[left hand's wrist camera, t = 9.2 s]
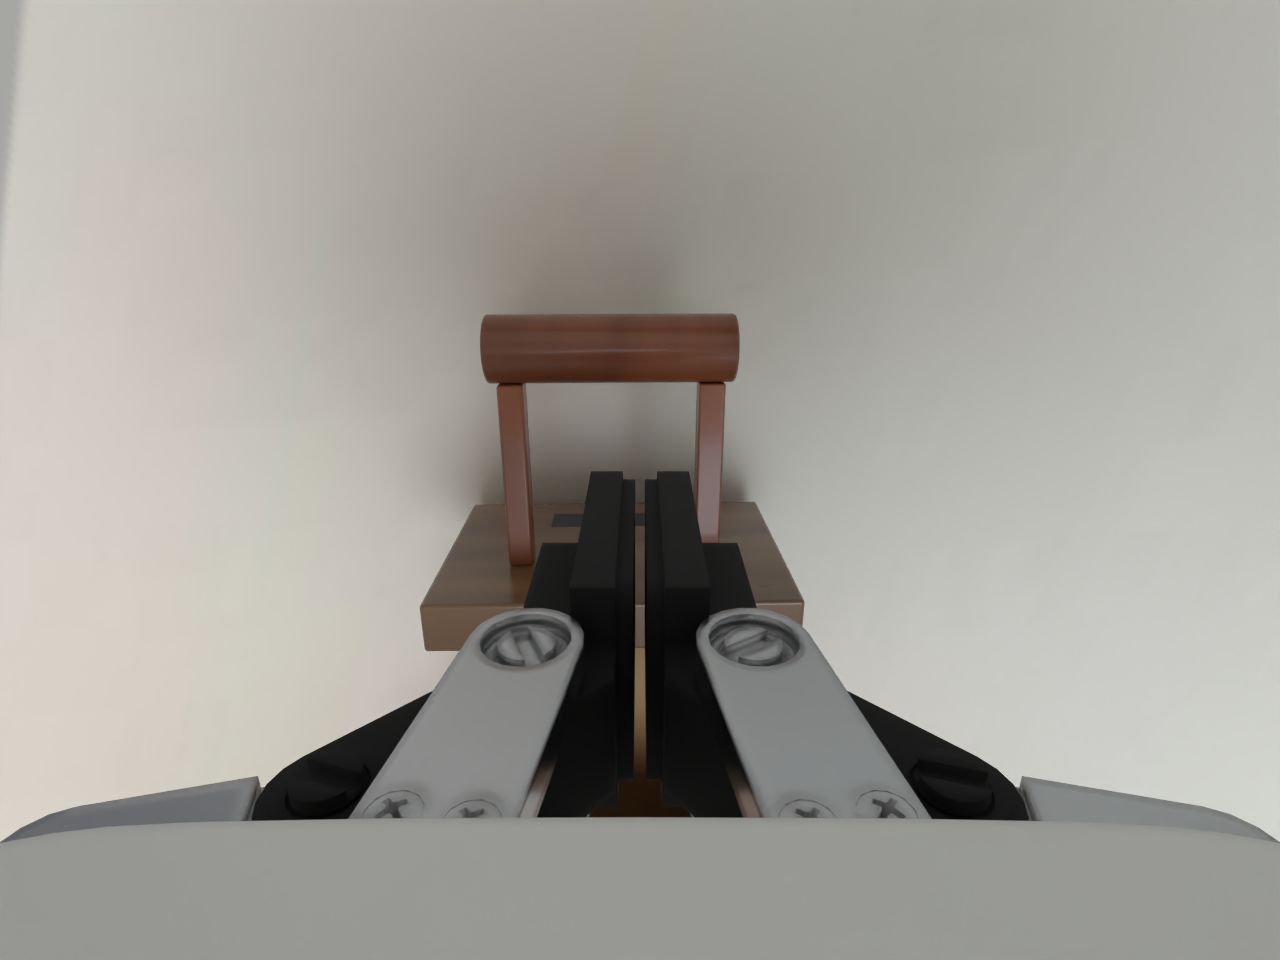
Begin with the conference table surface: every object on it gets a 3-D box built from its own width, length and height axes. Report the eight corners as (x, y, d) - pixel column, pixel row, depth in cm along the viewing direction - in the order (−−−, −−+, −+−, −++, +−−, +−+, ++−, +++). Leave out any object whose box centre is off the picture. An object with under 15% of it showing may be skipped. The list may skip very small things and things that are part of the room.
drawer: (455, 299, 19) (383, 327, 13) (768, 297, 19) (830, 326, 13) (507, 880, 26) (475, 1062, 20) (733, 875, 26) (764, 1054, 21)
